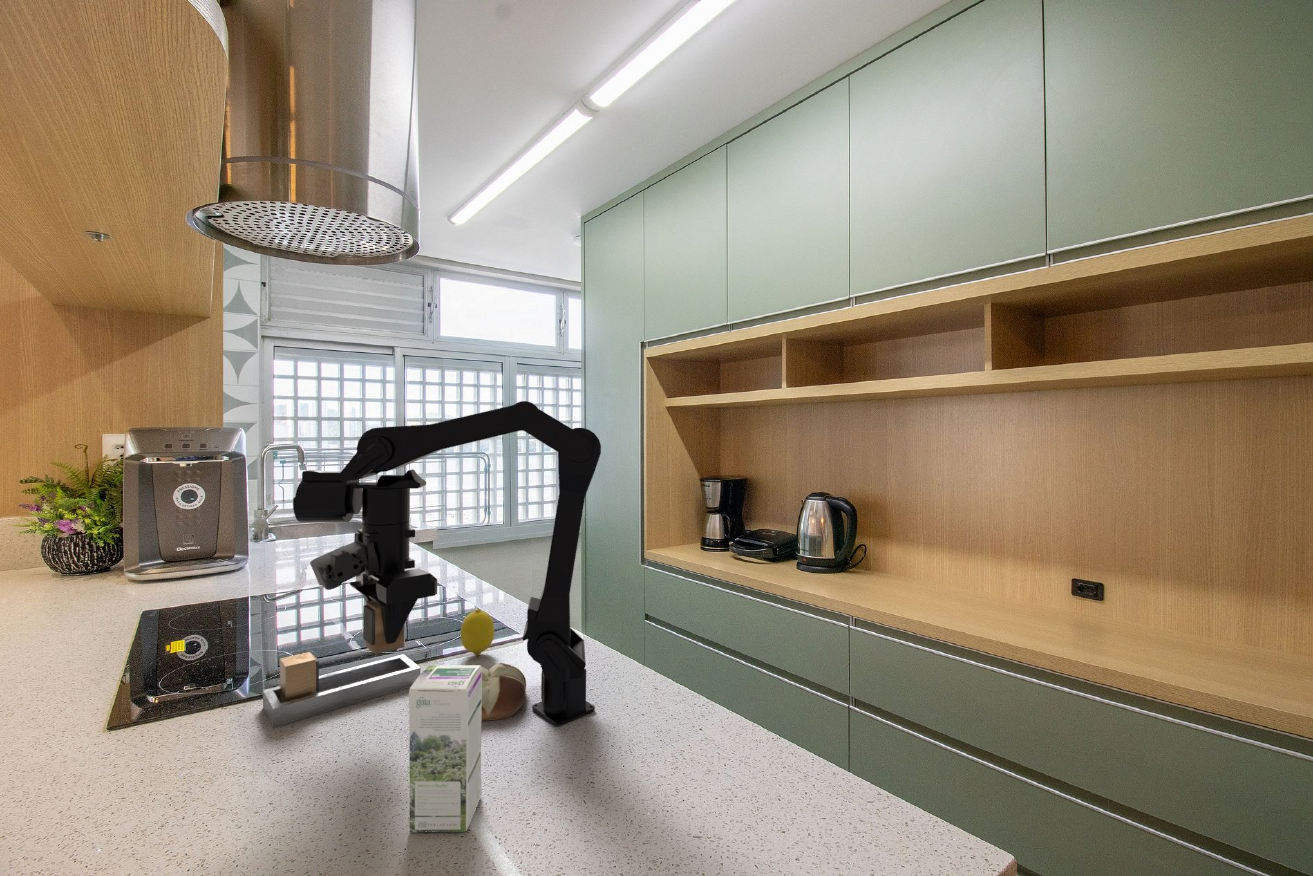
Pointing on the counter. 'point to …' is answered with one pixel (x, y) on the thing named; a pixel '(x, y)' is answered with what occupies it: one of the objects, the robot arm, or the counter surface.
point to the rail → (332, 686)
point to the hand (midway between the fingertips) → (385, 638)
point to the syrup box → (445, 748)
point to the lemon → (477, 632)
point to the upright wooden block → (377, 630)
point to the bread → (502, 691)
